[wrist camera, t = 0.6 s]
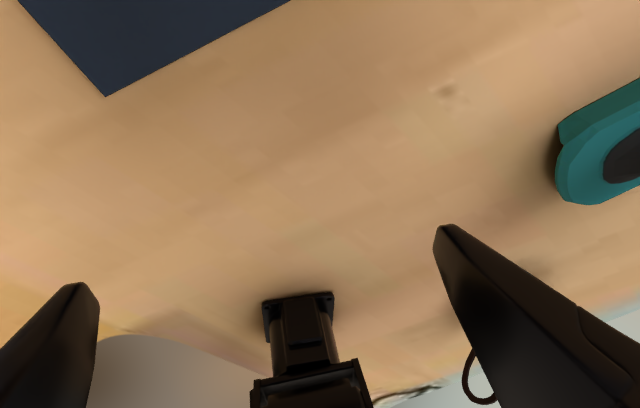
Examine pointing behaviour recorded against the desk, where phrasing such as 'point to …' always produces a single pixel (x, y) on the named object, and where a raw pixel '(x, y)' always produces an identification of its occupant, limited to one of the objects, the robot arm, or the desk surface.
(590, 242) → the desk surface
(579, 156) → the power drill
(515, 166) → the desk surface
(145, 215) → the desk surface
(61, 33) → the felt mat
